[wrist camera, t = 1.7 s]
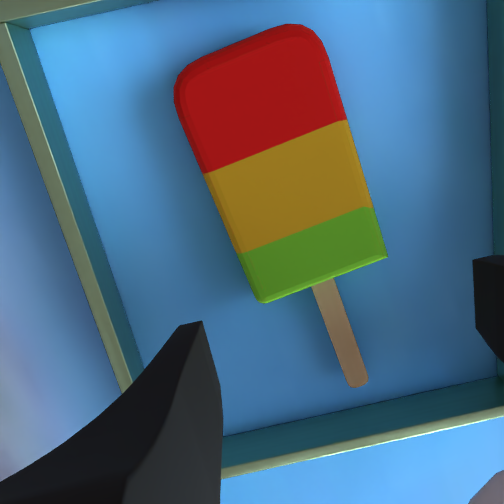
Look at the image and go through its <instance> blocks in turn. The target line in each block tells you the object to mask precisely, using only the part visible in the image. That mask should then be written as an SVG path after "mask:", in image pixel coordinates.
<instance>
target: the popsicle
mask: <svg viewBox="0 0 504 504" xmlns="http://www.w3.org/2000/svg"><path fill="white" fill-rule="evenodd" d="M174 104H175V108H176V111H177V114H178V117H179V120H180V122H181V125H182V127H183V129H184V132H185V134H186V136H187V139H188V141H189V143H190V146H191V148H192V151H193V153H194V155H195V158H196V160H197V162H198V165H199V167H200V169H201V172H202V174H203V176H204V179H205V181H206V183H207V186H208V188H209V190H210V193H211V195H212V198H213V200H214V202H215V205H216V207H217V209H218V212H219V214H220V216H221V219H222V221H223V223H224V226H225V228H226V230H227V233H228V235H229V237H230V240H231V242H232V244H233V247H234V249H235V252H236V254H237V256H238V259H239V261H240V263H241V266H242V268H243V270H244V273H245V275H246V277H247V280H248V282H249V284H250V287H251V289H252V291H253V294H254V296H255V298H256V300H257V301H258V302H260V303H264V304H265V303H269V302H272V301H274V300H277V299H280V298H282V297H285V296H287V295H290V294H293V293H295V292H298V291H300V290H303V289H306V288H308V287H311V288H312V290H313V293H314V296H315V298H316V301H317V304H318V306H319V309H320V312H321V314H322V317H323V320H324V322H325V325H326V328H327V330H328V333H329V336H330V339H331V341H332V344H333V347H334V349H335V352H336V355H337V357H338V360H339V363H340V365H341V368H342V371H343V373H344V376H345V379H346V381H347V383H348V385H349V386H350V387H352V388H357V387H360V386H362V385H365V384H366V383H367V382H368V374H367V371H366V368H365V365H364V363H363V360H362V357H361V354H360V351H359V348H358V345H357V343H356V340H355V337H354V334H353V331H352V328H351V326H350V323H349V320H348V317H347V314H346V311H345V309H344V306H343V303H342V300H341V297H340V294H339V291H338V289H337V286H336V283H335V280H334V278H335V277H337V276H340V275H342V274H345V273H348V272H350V271H353V270H356V269H358V268H361V267H363V266H366V265H369V264H371V263H374V262H377V261H379V260H382V259H384V258H387V257H388V254H387V251H386V247H385V244H384V241H383V237H382V234H381V231H380V227H379V224H378V221H377V217H376V214H375V211H374V207H373V204H372V201H371V197H370V194H369V191H368V187H367V184H366V181H365V177H364V174H363V171H362V167H361V164H360V161H359V157H358V154H357V151H356V147H355V144H354V141H353V137H352V134H351V131H350V127H349V124H348V121H347V117H346V114H345V111H344V107H343V104H342V101H341V97H340V94H339V91H338V87H337V84H336V81H335V77H334V74H333V71H332V67H331V64H330V61H329V57H328V55H327V53H326V50H325V48H324V45H323V43H322V41H321V40H320V39H319V37H318V36H317V35H316V34H315V32H314V31H313V30H311V29H309V28H307V27H305V26H303V25H301V24H284V25H280V26H277V27H273V28H270V29H267V30H265V31H263V32H260V33H258V34H255V35H253V36H251V37H248V38H246V39H243V40H241V41H239V42H236V43H234V44H231V45H229V46H227V47H224V48H222V49H219V50H217V51H215V52H212V53H210V54H207V55H205V56H203V57H201V58H199V59H197V60H195V61H194V62H192V63H190V64H188V65H187V66H186V67H185V68H184V69H183V70H182V72H181V73H180V74H179V75H178V77H177V80H176V82H175V85H174Z"/></svg>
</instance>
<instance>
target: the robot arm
mask: <svg viewBox="0 0 504 504" xmlns="http://www.w3.org/2000/svg"><path fill="white" fill-rule="evenodd" d="M473 281H474V302H475V323H476V329H477V330H478V332H479V333H480V335H481V336H482V337H483V339H484V340H485V342H486V343H487V344H488V346H489V347H490V348H491V349H492V351H493V352H494V353H495V355H496V356H497V357H498V358H499V359H500V360H501V361H502V362H503V363H504V255H491V256H487V257H482V258H478V259H474V260H473ZM222 439H223V410H222V399H221V389H220V383H219V379H218V376H217V372H216V368H215V365H214V361H213V358H212V354H211V350H210V347H209V343H208V340H207V336H206V333H205V329H204V325H203V322H202V321H197V322H193V323H188V324H184V325H179V326H178V328H177V329H176V330H175V331H174V333H173V334H172V335H171V336H170V338H169V339H168V340H167V342H166V343H165V344H164V346H163V347H162V348H161V350H160V351H159V352H158V353H157V355H156V356H155V357H154V359H153V360H152V361H151V362H150V364H149V365H148V366H147V367H146V368H145V369H144V370H143V372H142V373H141V374H140V375H139V376H138V377H137V378H136V380H135V381H134V382H133V383H132V384H131V385H130V386H129V387H128V388H127V389H126V391H125V392H124V393H123V394H122V395H121V396H120V397H118V398H117V399H116V400H115V401H114V402H113V403H112V404H111V405H110V406H109V407H108V408H107V409H105V410H104V411H103V412H102V413H101V414H100V415H99V416H98V417H96V418H95V419H94V420H93V421H91V422H90V423H89V424H87V425H86V426H85V427H84V428H82V429H81V430H80V431H78V432H77V433H76V434H74V435H73V436H72V437H71V438H69V439H68V440H67V441H65V442H64V443H62V444H61V445H60V446H58V447H57V448H55V449H54V450H52V451H51V452H49V453H48V454H46V455H45V456H43V457H41V458H40V459H38V460H37V461H35V462H34V463H32V464H30V465H29V466H27V467H25V468H24V469H22V470H20V471H19V472H17V473H15V474H14V475H12V476H10V477H8V478H6V479H4V480H3V481H1V482H0V504H220V486H221V463H222ZM468 504H504V470H502V471H500V472H498V473H496V474H495V475H494V476H493V477H492V478H491V479H490V480H489V481H488V482H487V483H486V484H485V485H484V486H483V487H482V488H481V489H480V490H479V491H478V492H477V493H476V494H475V495H474V496H473V497H472V498H471V499H470V501H469V503H468Z"/></svg>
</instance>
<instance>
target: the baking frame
mask: <svg viewBox="0 0 504 504" xmlns="http://www.w3.org/2000/svg"><path fill="white" fill-rule="evenodd" d="M153 1H158V0H0V63H1V66H2V69H3V72H4V74H5V77H6V80H7V82H8V85H9V88H10V91H11V93H12V96H13V99H14V102H15V104H16V107H17V110H18V112H19V115H20V118H21V121H22V123H23V126H24V129H25V132H26V134H27V137H28V140H29V142H30V145H31V148H32V151H33V153H34V156H35V159H36V162H37V164H38V167H39V170H40V172H41V175H42V178H43V181H44V183H45V186H46V189H47V191H48V194H49V197H50V200H51V202H52V205H53V208H54V211H55V213H56V216H57V219H58V221H59V224H60V227H61V230H62V232H63V235H64V238H65V241H66V243H67V246H68V249H69V251H70V254H71V257H72V260H73V262H74V265H75V268H76V271H77V273H78V276H79V279H80V281H81V284H82V287H83V290H84V292H85V295H86V298H87V301H88V303H89V306H90V309H91V311H92V314H93V317H94V320H95V322H96V325H97V328H98V331H99V333H100V336H101V339H102V341H103V344H104V347H105V350H106V352H107V355H108V358H109V360H110V363H111V366H112V369H113V371H114V374H115V377H116V380H117V382H118V385H119V388H120V390H121V393H122V394H123V393H124V392H125V391H126V389H127V388H128V387H129V386H130V385H131V384H132V383H133V382H134V381H135V380H136V378H137V377H138V376H139V375H140V374H141V373H142V372H143V370H144V366H143V363H142V360H141V357H140V355H139V352H138V349H137V346H136V343H135V340H134V337H133V334H132V331H131V328H130V325H129V322H128V319H127V316H126V313H125V310H124V307H123V304H122V301H121V298H120V295H119V293H118V290H117V287H116V284H115V281H114V278H113V275H112V272H111V269H110V266H109V263H108V260H107V257H106V254H105V251H104V248H103V245H102V242H101V239H100V236H99V234H98V231H97V228H96V225H95V222H94V219H93V216H92V213H91V210H90V207H89V204H88V201H87V198H86V195H85V192H84V189H83V186H82V183H81V180H80V177H79V175H78V172H77V169H76V166H75V163H74V160H73V157H72V154H71V151H70V148H69V145H68V142H67V139H66V136H65V133H64V130H63V127H62V124H61V121H60V118H59V115H58V113H57V110H56V107H55V104H54V101H53V98H52V95H51V92H50V89H49V86H48V83H47V80H46V77H45V74H44V71H43V68H42V65H41V62H40V59H39V56H38V54H37V51H36V48H35V45H34V42H33V39H32V36H31V33H30V30H29V29H31V28H36V27H40V26H45V25H49V24H54V23H58V22H63V21H67V20H72V19H76V18H81V17H85V16H90V15H94V14H99V13H103V12H108V11H113V10H117V9H122V8H126V7H131V6H135V5H140V4H144V3H149V2H153ZM487 23H488V58H489V94H490V129H491V165H492V200H493V236H494V255H504V0H487ZM497 375H498V376H496V377H492V378H487V379H483V380H478V381H474V382H469V383H465V384H460V385H456V386H451V387H447V388H442V389H438V390H433V391H429V392H424V393H420V394H415V395H411V396H406V397H402V398H397V399H393V400H388V401H384V402H379V403H375V404H370V405H366V406H361V407H357V408H352V409H348V410H343V411H339V412H334V413H330V414H326V415H321V416H317V417H312V418H308V419H303V420H299V421H294V422H290V423H285V424H281V425H276V426H272V427H267V428H263V429H258V430H254V431H249V432H245V433H240V434H236V435H231V436H227V437H223V439H222V463H221V479H225V478H230V477H234V476H239V475H243V474H248V473H252V472H257V471H261V470H266V469H270V468H275V467H279V466H284V465H288V464H293V463H297V462H301V461H306V460H310V459H315V458H319V457H324V456H328V455H333V454H337V453H342V452H346V451H351V450H355V449H360V448H364V447H369V446H373V445H378V444H382V443H387V442H391V441H396V440H400V439H405V438H409V437H414V436H418V435H423V434H427V433H432V432H436V431H441V430H445V429H450V428H454V427H459V426H463V425H468V424H472V423H477V422H481V421H486V420H490V419H495V418H499V417H504V363H503V362H502V361H501V360H500V359H499V358H498V357H497Z"/></svg>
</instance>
